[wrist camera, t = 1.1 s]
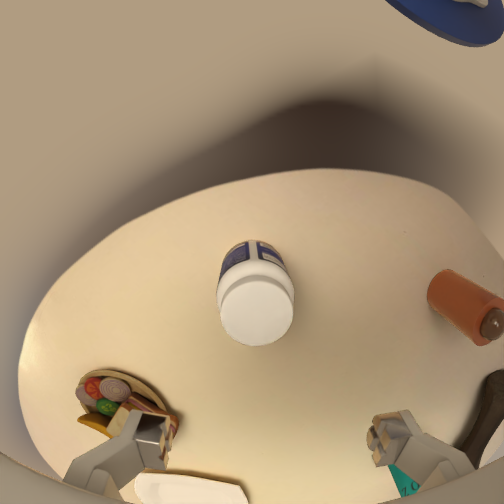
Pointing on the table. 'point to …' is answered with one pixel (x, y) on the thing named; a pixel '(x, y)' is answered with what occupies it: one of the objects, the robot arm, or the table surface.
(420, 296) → the table surface
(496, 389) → the dark brown bone
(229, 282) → the pill bottle
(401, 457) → the robot arm
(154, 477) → the plate
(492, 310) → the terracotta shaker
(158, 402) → the toy sandwich meal
